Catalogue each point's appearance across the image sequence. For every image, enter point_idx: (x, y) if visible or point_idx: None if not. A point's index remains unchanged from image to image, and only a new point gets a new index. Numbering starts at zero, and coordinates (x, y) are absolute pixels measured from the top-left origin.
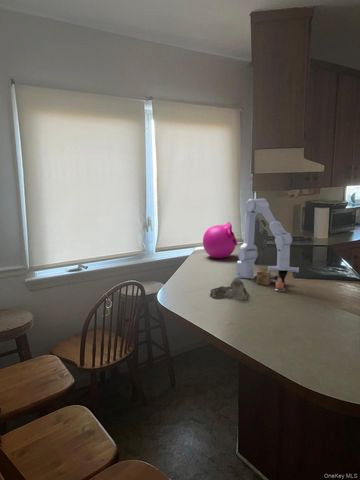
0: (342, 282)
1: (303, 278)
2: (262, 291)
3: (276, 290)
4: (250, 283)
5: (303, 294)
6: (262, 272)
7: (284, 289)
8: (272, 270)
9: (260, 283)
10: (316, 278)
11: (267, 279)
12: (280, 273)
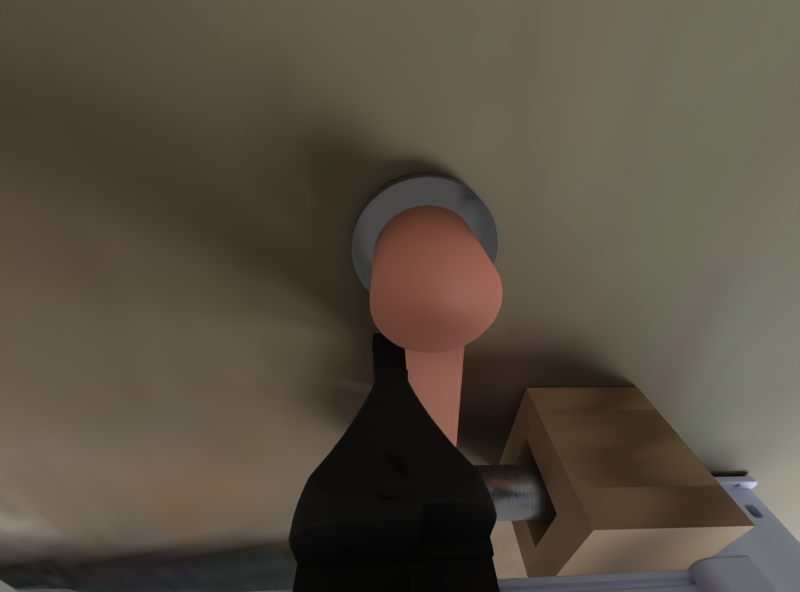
0: (20, 538)
1: (277, 542)
2: (663, 131)
3: (465, 186)
4: (693, 385)
5: (86, 162)
6: (678, 523)
7: (360, 248)
8: (630, 573)
9: (606, 393)
10: (204, 554)
11: (564, 436)
12: (454, 489)
